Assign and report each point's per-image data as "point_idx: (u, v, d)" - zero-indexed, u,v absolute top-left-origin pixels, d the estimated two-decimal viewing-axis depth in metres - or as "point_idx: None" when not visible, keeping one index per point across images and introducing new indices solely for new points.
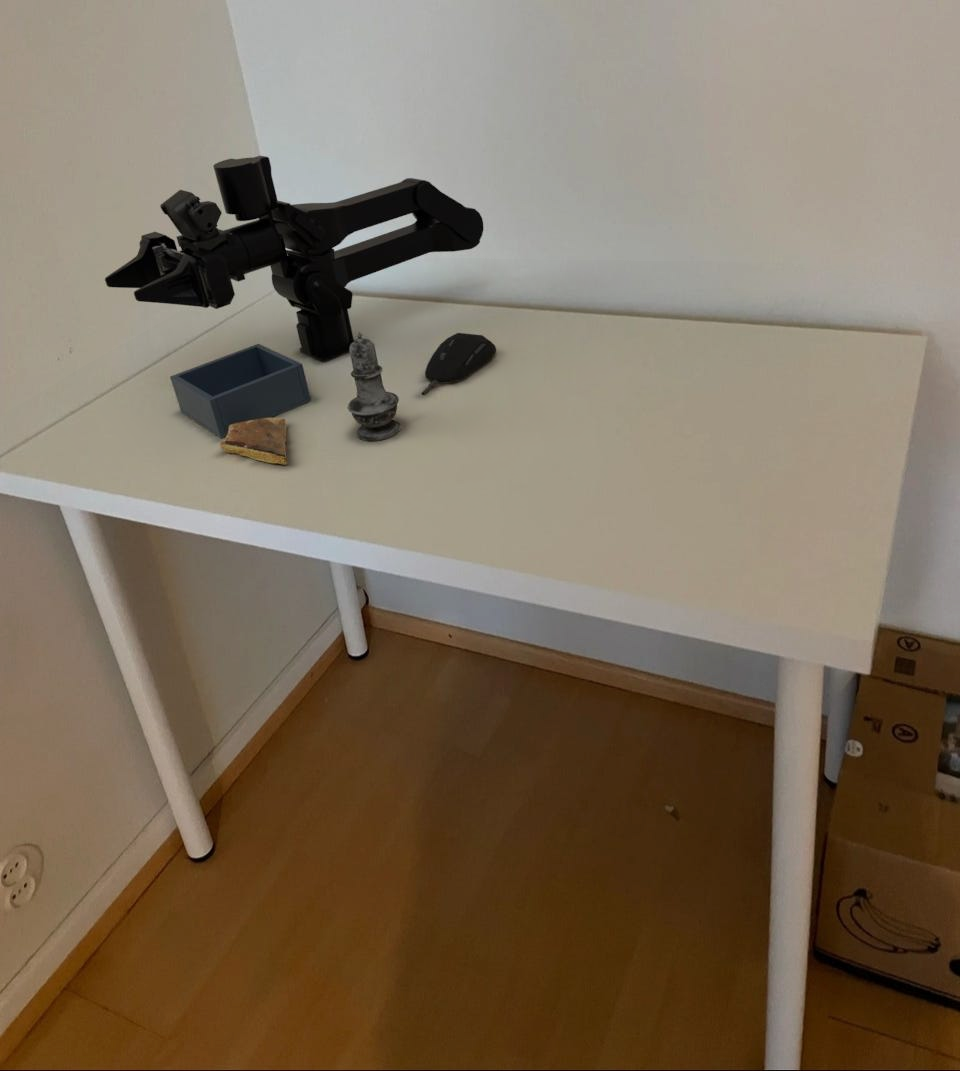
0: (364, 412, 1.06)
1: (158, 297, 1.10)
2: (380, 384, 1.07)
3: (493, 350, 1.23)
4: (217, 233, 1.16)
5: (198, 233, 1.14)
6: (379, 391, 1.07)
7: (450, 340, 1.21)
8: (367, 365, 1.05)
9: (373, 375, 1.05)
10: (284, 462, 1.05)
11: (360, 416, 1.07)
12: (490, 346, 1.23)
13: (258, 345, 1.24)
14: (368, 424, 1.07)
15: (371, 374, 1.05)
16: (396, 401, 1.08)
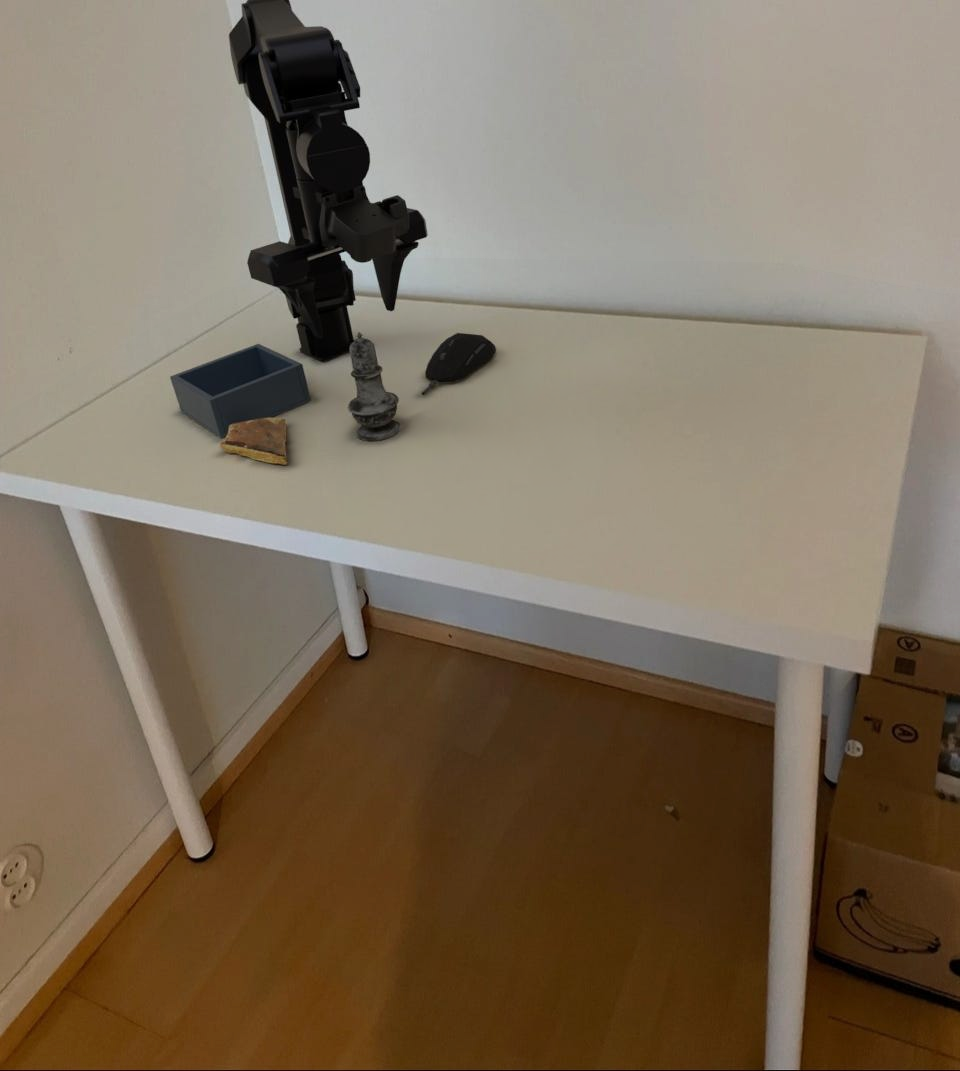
0: (364, 412, 1.06)
1: None
2: (380, 384, 1.07)
3: (493, 350, 1.23)
4: None
5: None
6: (379, 391, 1.07)
7: (450, 340, 1.21)
8: (368, 365, 1.05)
9: (373, 375, 1.05)
10: (284, 462, 1.05)
11: (360, 416, 1.07)
12: (490, 346, 1.23)
13: (258, 345, 1.24)
14: (368, 424, 1.07)
15: (371, 374, 1.05)
16: (396, 401, 1.08)
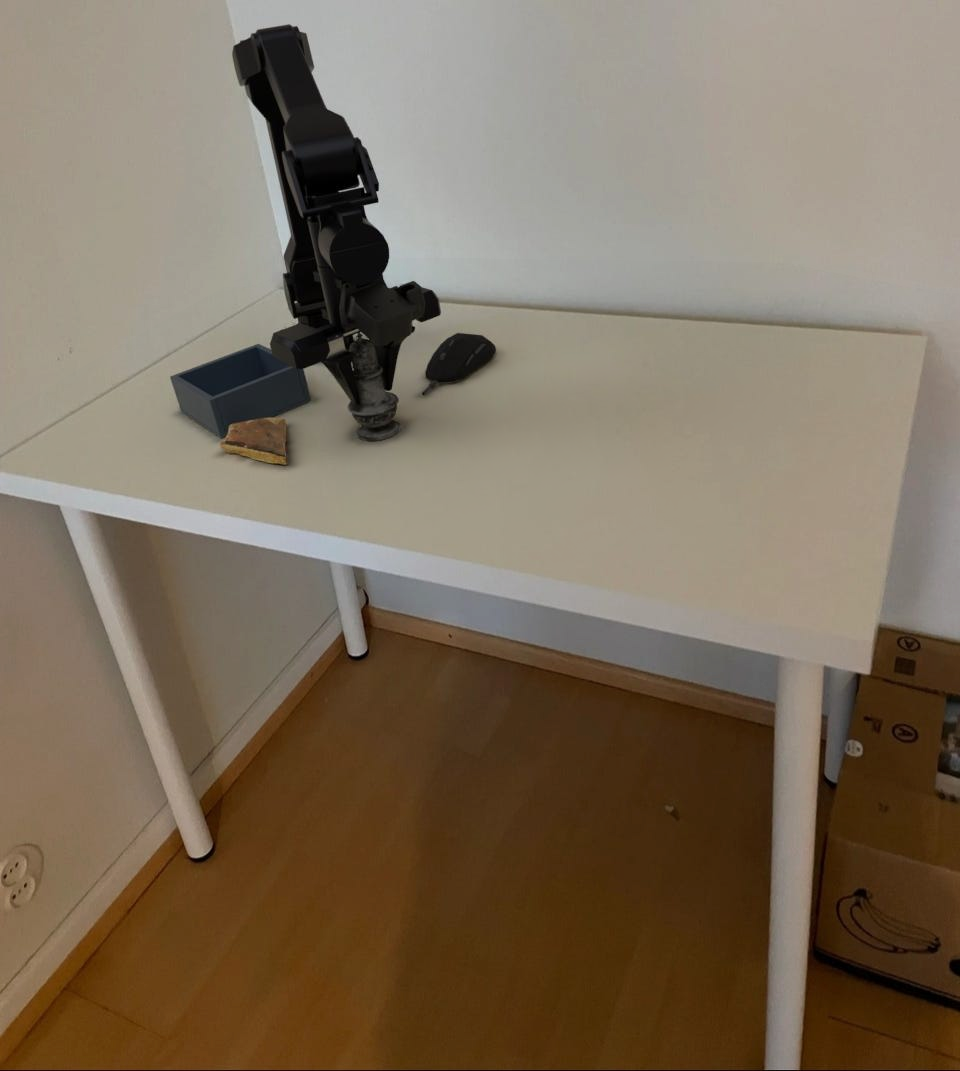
0: (364, 412, 1.06)
1: None
2: (380, 384, 1.07)
3: (493, 350, 1.23)
4: None
5: None
6: (379, 391, 1.07)
7: (450, 340, 1.21)
8: (368, 365, 1.05)
9: (373, 375, 1.05)
10: (284, 462, 1.05)
11: (360, 416, 1.07)
12: (490, 346, 1.23)
13: (258, 345, 1.24)
14: (368, 424, 1.07)
15: (372, 374, 1.05)
16: (396, 401, 1.08)
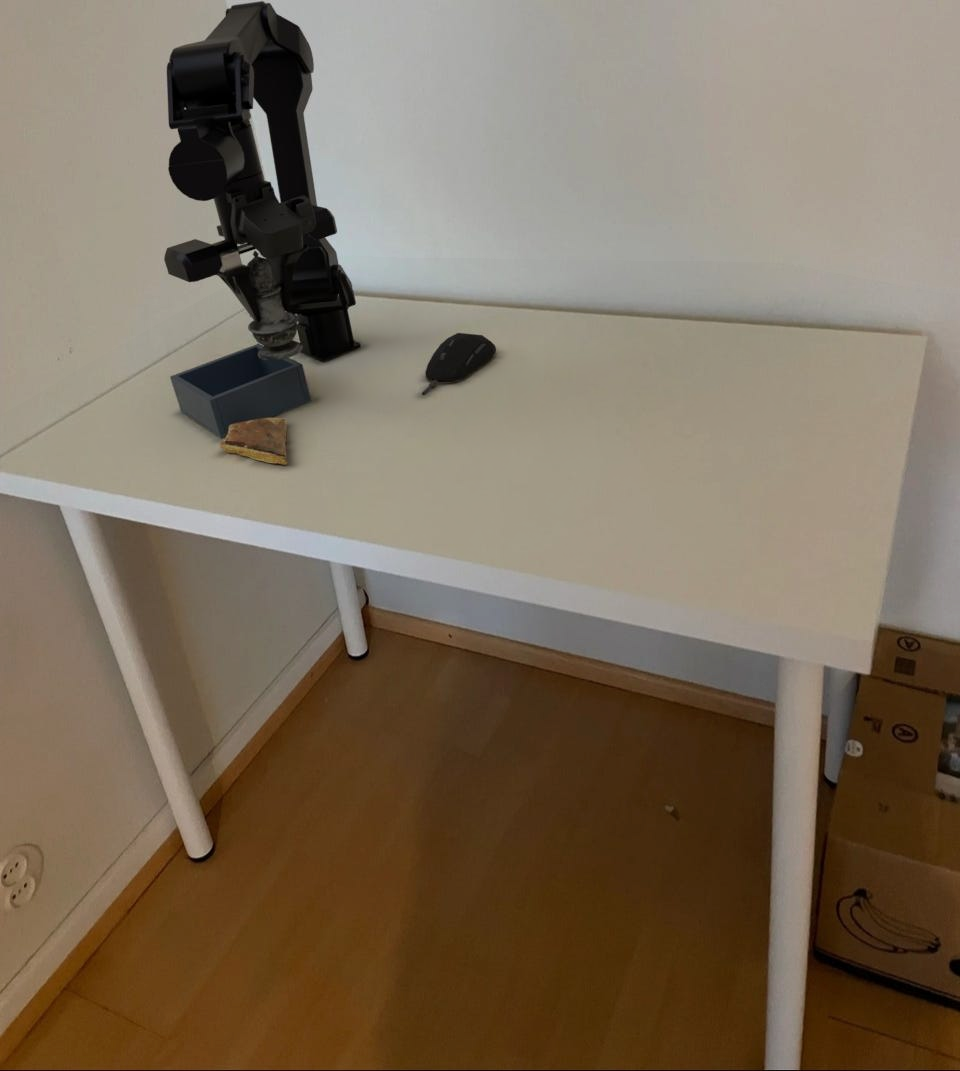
0: (263, 330, 1.08)
1: None
2: (278, 303, 1.09)
3: (493, 350, 1.23)
4: None
5: None
6: (278, 310, 1.09)
7: (450, 340, 1.21)
8: (264, 284, 1.07)
9: (270, 294, 1.07)
10: (284, 462, 1.05)
11: (259, 335, 1.09)
12: (490, 346, 1.23)
13: (258, 345, 1.24)
14: (268, 343, 1.10)
15: (269, 293, 1.07)
16: (295, 320, 1.10)
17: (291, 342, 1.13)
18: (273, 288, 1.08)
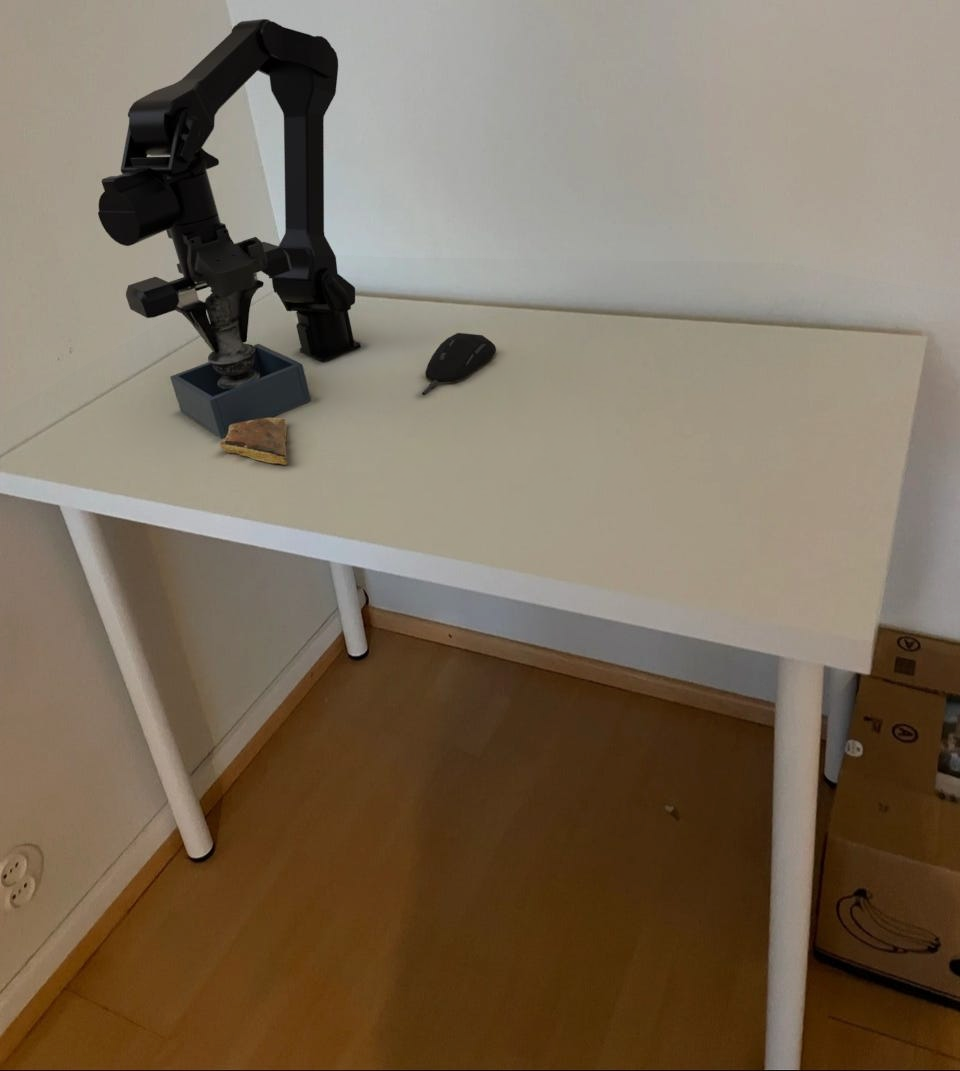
0: (221, 361, 1.15)
1: None
2: (236, 336, 1.15)
3: (493, 350, 1.23)
4: None
5: None
6: (235, 342, 1.16)
7: (450, 340, 1.21)
8: (221, 318, 1.13)
9: (227, 327, 1.14)
10: (284, 462, 1.05)
11: (217, 365, 1.16)
12: (490, 346, 1.23)
13: (258, 345, 1.24)
14: (226, 373, 1.16)
15: (226, 326, 1.14)
16: (252, 352, 1.17)
17: (249, 371, 1.20)
18: (230, 322, 1.14)
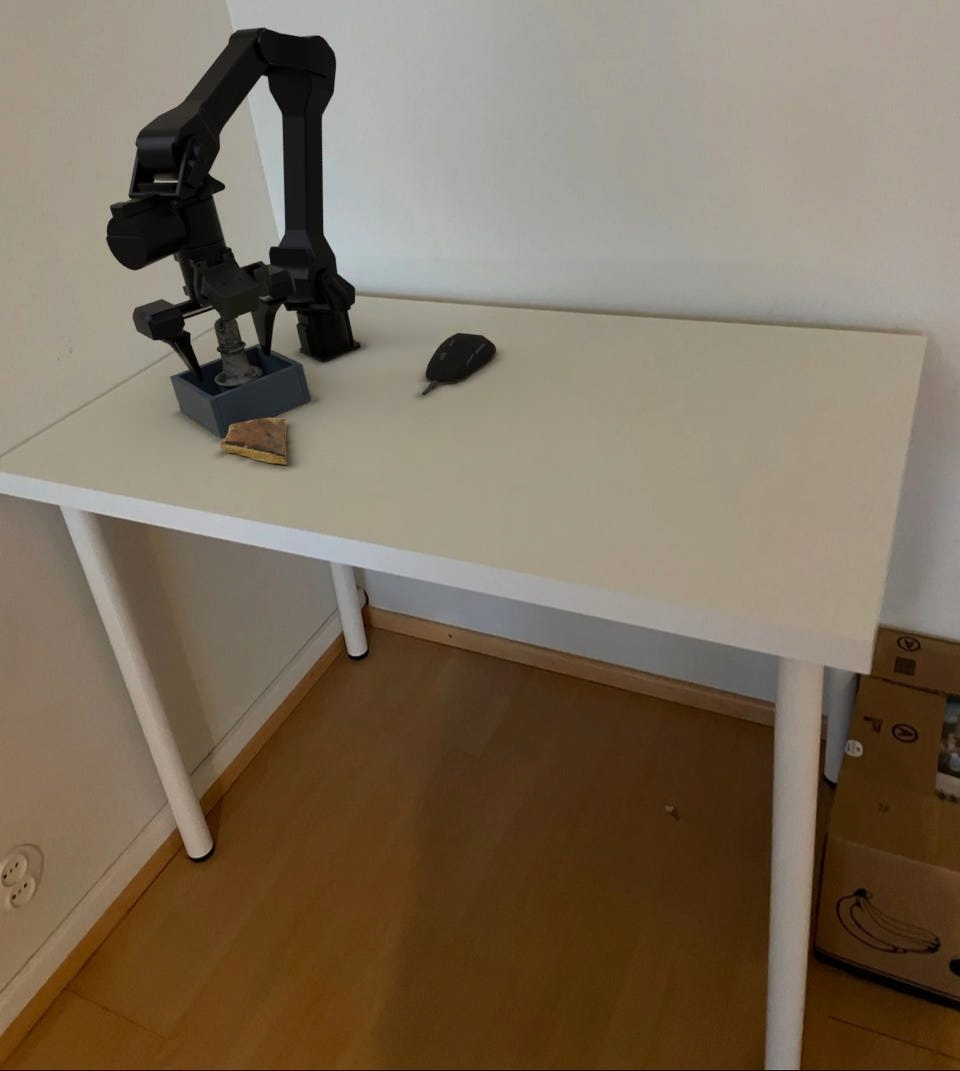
0: (228, 383, 1.17)
1: None
2: (243, 358, 1.17)
3: (493, 350, 1.23)
4: (234, 265, 1.10)
5: None
6: (242, 364, 1.17)
7: (450, 340, 1.21)
8: (230, 340, 1.15)
9: (235, 350, 1.16)
10: (284, 462, 1.05)
11: (225, 387, 1.17)
12: (490, 346, 1.23)
13: (258, 345, 1.24)
14: None
15: (234, 349, 1.16)
16: (259, 374, 1.18)
17: None
18: (238, 344, 1.16)
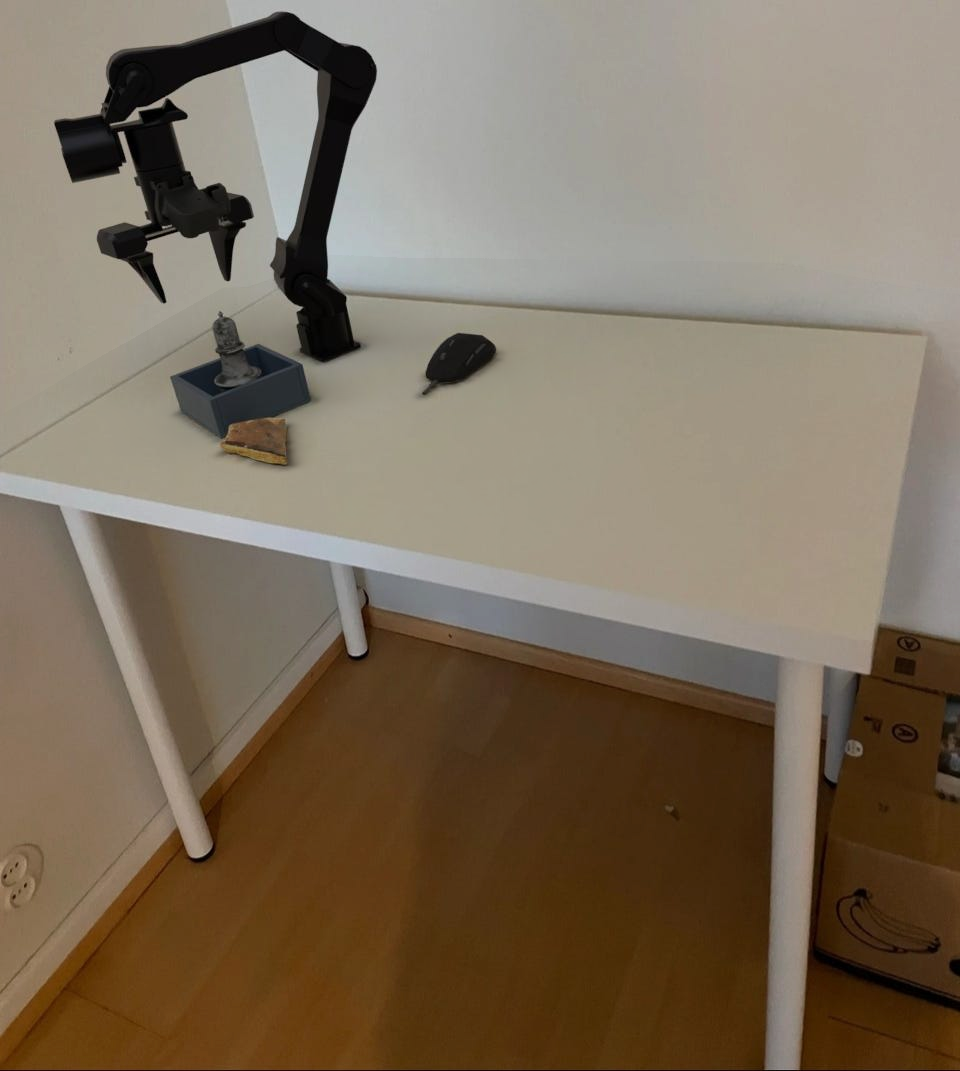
0: (227, 384, 1.17)
1: None
2: (242, 359, 1.17)
3: (493, 350, 1.23)
4: None
5: None
6: (241, 365, 1.17)
7: (450, 340, 1.21)
8: (228, 341, 1.15)
9: (234, 350, 1.16)
10: (284, 462, 1.05)
11: (224, 388, 1.17)
12: (490, 346, 1.23)
13: (258, 345, 1.24)
14: None
15: (233, 349, 1.16)
16: (258, 375, 1.18)
17: None
18: (237, 345, 1.16)
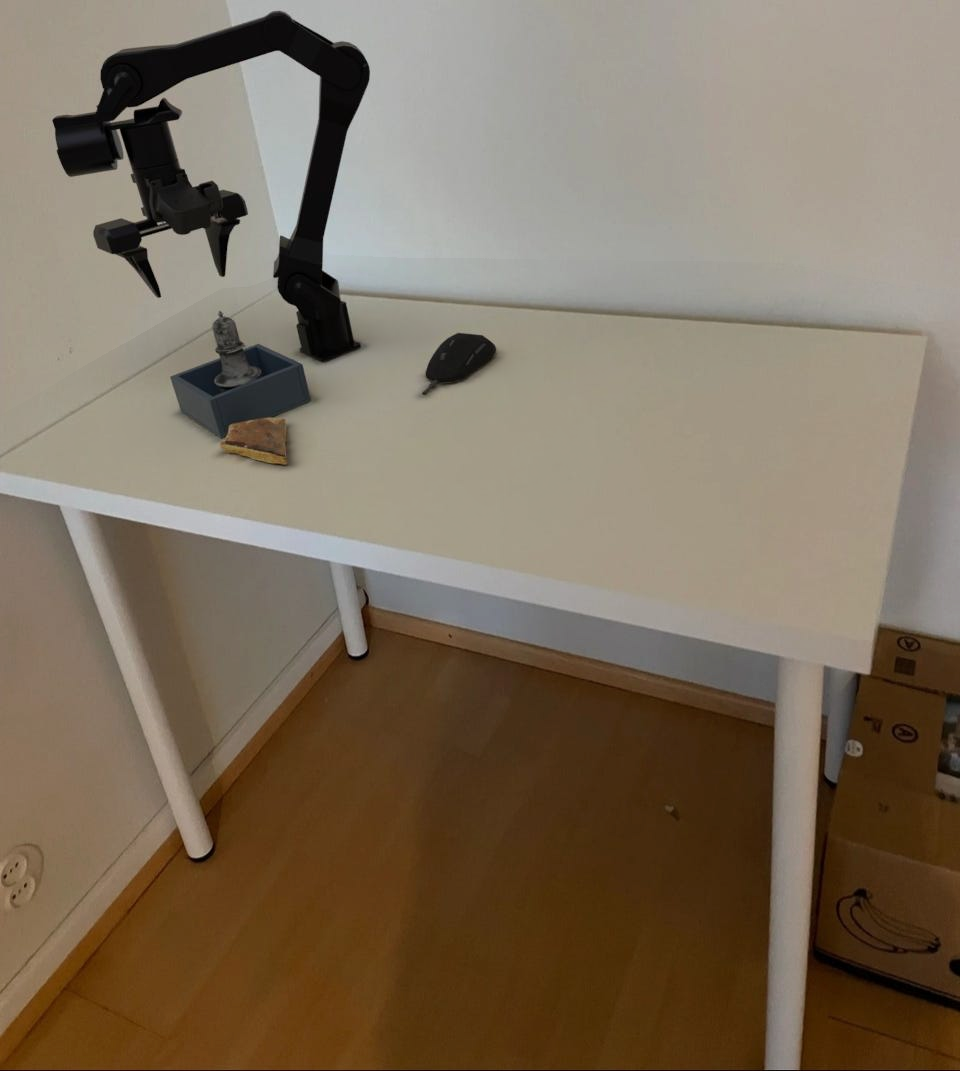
0: (227, 384, 1.17)
1: None
2: (242, 359, 1.17)
3: (493, 350, 1.23)
4: None
5: None
6: (241, 365, 1.17)
7: (450, 340, 1.21)
8: (228, 341, 1.15)
9: (234, 350, 1.16)
10: (284, 462, 1.06)
11: (224, 388, 1.17)
12: (490, 346, 1.23)
13: (258, 345, 1.24)
14: None
15: (233, 349, 1.16)
16: (258, 374, 1.18)
17: None
18: (237, 345, 1.16)
